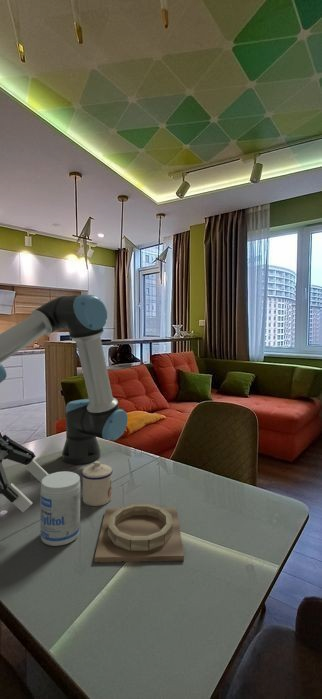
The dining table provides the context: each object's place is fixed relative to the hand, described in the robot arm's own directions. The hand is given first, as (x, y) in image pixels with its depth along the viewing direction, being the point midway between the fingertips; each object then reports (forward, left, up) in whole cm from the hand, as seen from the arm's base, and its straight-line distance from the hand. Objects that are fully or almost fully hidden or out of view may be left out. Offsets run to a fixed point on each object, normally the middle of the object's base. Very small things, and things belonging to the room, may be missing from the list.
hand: (38, 493), depth 82 cm
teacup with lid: (-20, +11, -12) cm, 26 cm away
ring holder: (-1, +25, -12) cm, 28 cm away
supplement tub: (-1, +5, -12) cm, 13 cm away
